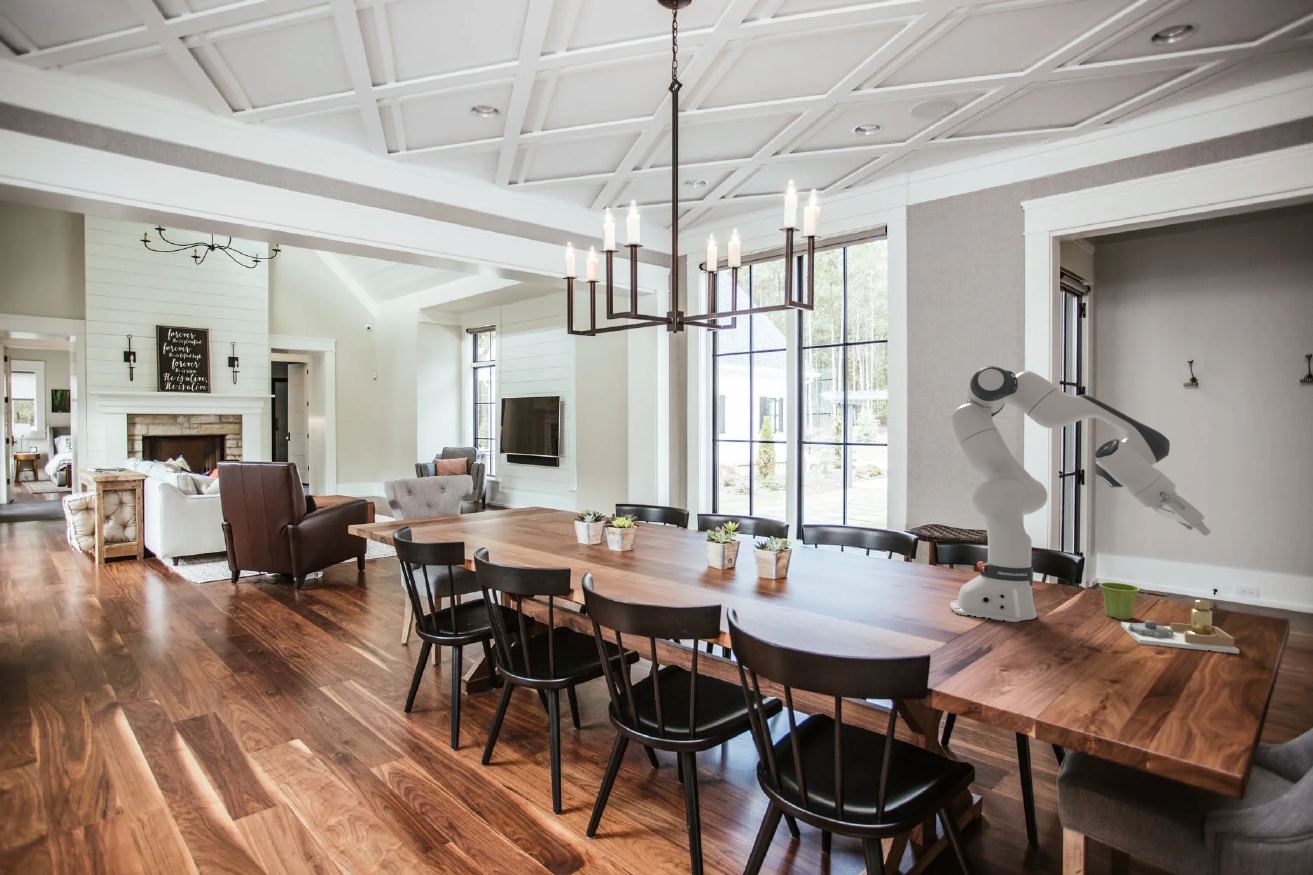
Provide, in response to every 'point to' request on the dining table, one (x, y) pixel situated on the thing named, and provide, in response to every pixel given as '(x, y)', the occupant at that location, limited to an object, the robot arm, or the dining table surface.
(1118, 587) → the plant pot
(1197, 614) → the brass gear shaft
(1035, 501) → the robot arm
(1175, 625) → the gear board
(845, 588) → the dining table surface
